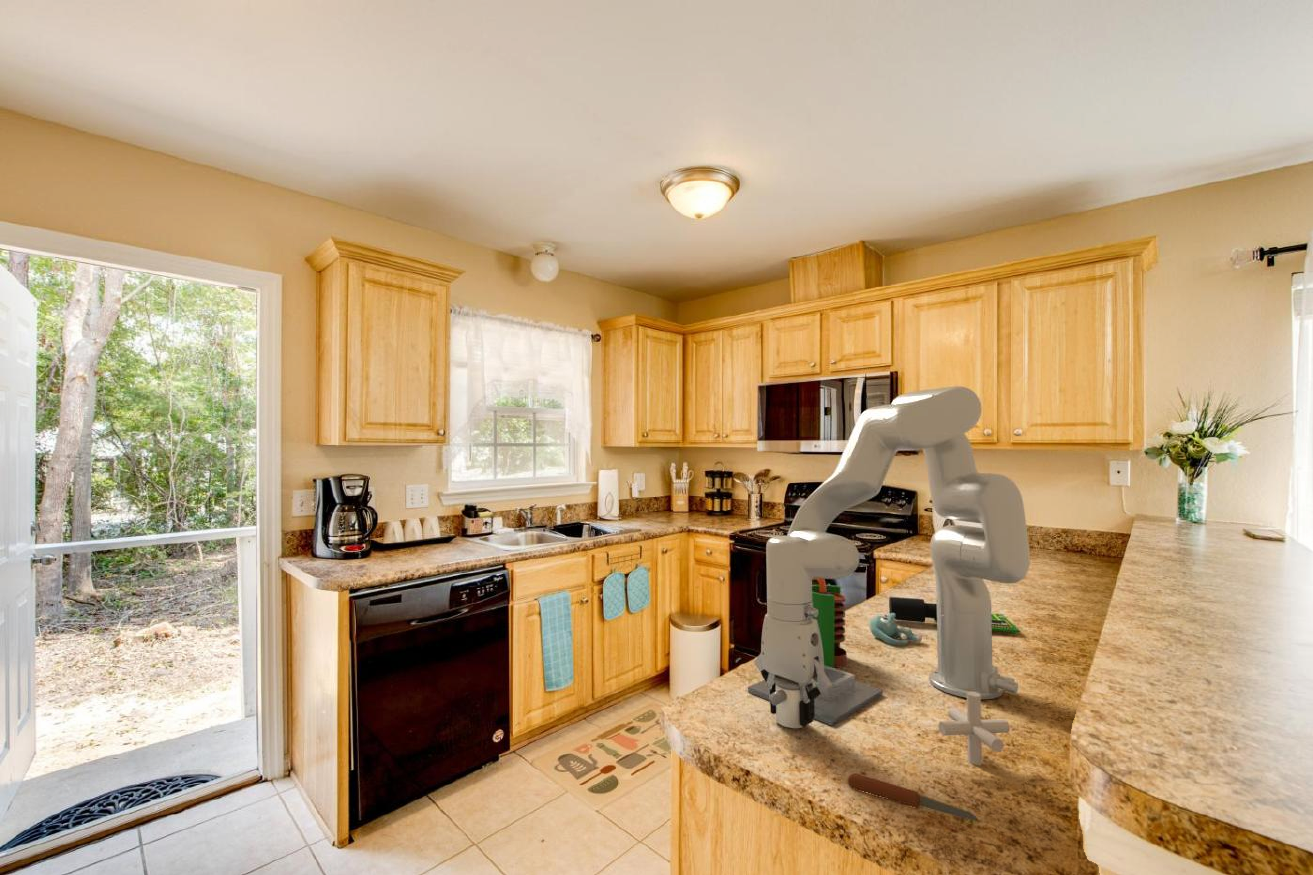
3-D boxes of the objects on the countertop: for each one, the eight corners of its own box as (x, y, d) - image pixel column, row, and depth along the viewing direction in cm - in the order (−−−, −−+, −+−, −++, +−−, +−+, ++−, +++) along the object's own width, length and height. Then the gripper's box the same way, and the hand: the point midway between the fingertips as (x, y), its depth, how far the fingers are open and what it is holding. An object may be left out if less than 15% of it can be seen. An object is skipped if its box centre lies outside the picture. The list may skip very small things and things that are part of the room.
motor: (849, 670, 117) (848, 576, 118) (806, 667, 119) (805, 574, 120) (843, 654, 127) (842, 566, 128) (803, 651, 129) (802, 565, 130)
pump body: (814, 720, 93) (813, 679, 94) (788, 736, 88) (787, 692, 88) (787, 710, 97) (787, 670, 98) (760, 724, 92) (760, 682, 93)
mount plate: (882, 695, 105) (882, 678, 105) (832, 726, 93) (832, 706, 93) (801, 668, 118) (801, 653, 119) (748, 692, 106) (747, 675, 107)
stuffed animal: (922, 628, 129) (869, 611, 135) (916, 658, 129) (863, 639, 135) (927, 617, 138) (876, 601, 144) (921, 645, 138) (871, 628, 145)
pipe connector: (923, 745, 87) (922, 681, 87) (983, 743, 88) (982, 679, 88) (964, 783, 77) (963, 710, 77) (1031, 779, 78) (1030, 707, 78)
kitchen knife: (847, 789, 76) (847, 774, 76) (849, 784, 77) (849, 769, 77) (979, 831, 67) (979, 814, 67) (980, 825, 69) (979, 808, 69)
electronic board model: (1001, 595, 154) (1019, 609, 139) (1002, 620, 153) (1020, 637, 139) (886, 587, 162) (891, 600, 148) (886, 611, 162) (892, 626, 148)
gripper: (847, 615, 90) (849, 728, 90) (762, 596, 103) (764, 694, 103) (822, 625, 85) (824, 744, 85) (736, 604, 98) (738, 707, 97)
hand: (791, 716), depth 94 cm, fingers closed on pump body, 5 cm apart
